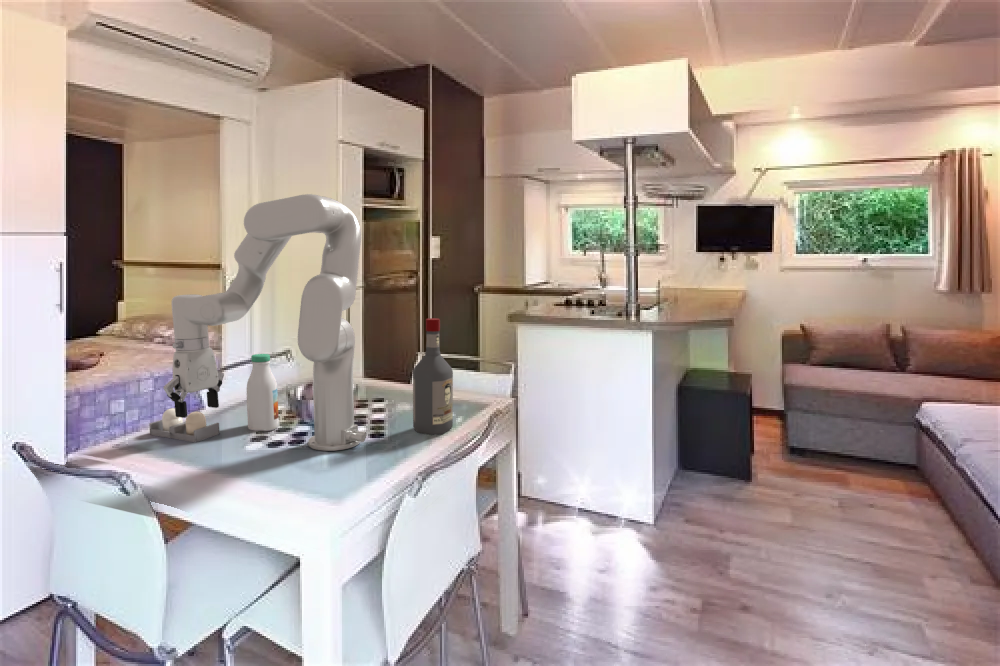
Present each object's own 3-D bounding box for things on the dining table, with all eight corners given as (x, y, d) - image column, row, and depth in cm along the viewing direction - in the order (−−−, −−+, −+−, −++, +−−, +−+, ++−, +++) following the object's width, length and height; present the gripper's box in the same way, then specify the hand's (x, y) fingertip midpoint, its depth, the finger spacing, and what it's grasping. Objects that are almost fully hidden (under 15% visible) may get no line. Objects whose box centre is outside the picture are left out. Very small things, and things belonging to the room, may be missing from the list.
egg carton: (219, 436, 156) (219, 422, 156) (195, 444, 149) (195, 430, 149) (175, 428, 162) (174, 416, 161) (150, 436, 155) (149, 423, 154)
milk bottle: (268, 433, 159) (265, 358, 156) (241, 431, 160) (238, 356, 158) (284, 425, 166) (281, 353, 164) (259, 423, 168) (256, 351, 165)
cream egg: (187, 430, 158) (186, 407, 157) (172, 435, 154) (170, 411, 153) (174, 428, 160) (172, 405, 159) (158, 433, 155) (157, 409, 155)
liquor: (409, 431, 162) (408, 319, 158) (427, 423, 170) (427, 316, 166) (438, 436, 158) (438, 321, 154) (456, 427, 166) (456, 318, 162)
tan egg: (210, 434, 155) (209, 410, 154) (196, 439, 151) (194, 415, 150) (197, 432, 157) (195, 408, 156) (182, 437, 153) (180, 413, 152)
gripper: (173, 351, 141) (179, 422, 144) (230, 340, 157) (235, 404, 160) (150, 349, 144) (156, 419, 146) (208, 339, 160) (213, 402, 162)
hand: (197, 411), depth 153 cm, fingers open, 9 cm apart
